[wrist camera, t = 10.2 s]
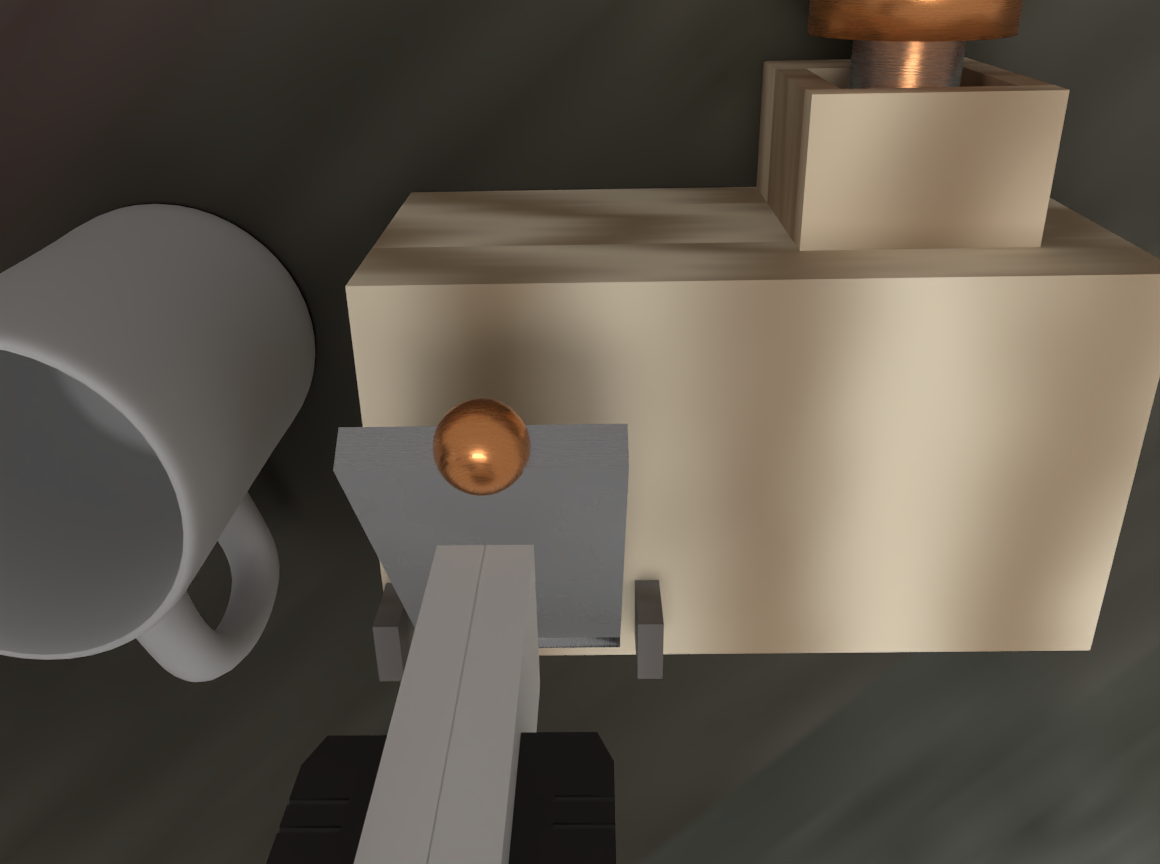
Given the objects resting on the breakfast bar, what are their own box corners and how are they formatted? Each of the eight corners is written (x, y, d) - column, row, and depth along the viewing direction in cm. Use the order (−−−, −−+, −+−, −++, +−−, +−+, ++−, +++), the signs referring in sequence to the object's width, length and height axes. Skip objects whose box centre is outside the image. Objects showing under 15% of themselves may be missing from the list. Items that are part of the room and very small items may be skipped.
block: (438, 487, 34) (378, 704, 25) (399, 67, 28) (301, 133, 19) (970, 481, 34) (1123, 697, 24) (1044, 55, 28) (1285, 116, 18)
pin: (757, 515, 33) (782, 602, 28) (796, -59, 25) (839, -59, 21) (905, 513, 33) (953, 600, 28) (988, -63, 25) (1070, -64, 21)
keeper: (429, 604, 26) (424, 666, 25) (330, 381, 16) (318, 469, 15) (618, 601, 26) (620, 664, 25) (627, 377, 16) (631, 466, 15)
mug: (-11, 264, 31) (-291, 416, 21) (228, 155, 29) (47, 264, 20) (199, 567, 36) (52, 806, 26) (414, 486, 34) (343, 707, 24)
